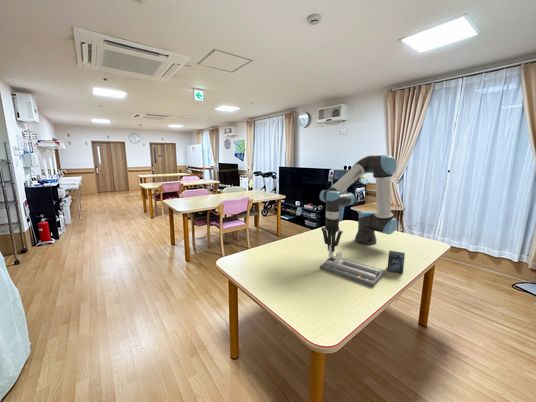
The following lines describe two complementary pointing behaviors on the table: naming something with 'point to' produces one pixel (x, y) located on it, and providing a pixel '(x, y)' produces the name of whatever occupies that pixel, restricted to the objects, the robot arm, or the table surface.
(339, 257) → the fader tab
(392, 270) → the box
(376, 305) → the table surface
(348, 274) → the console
